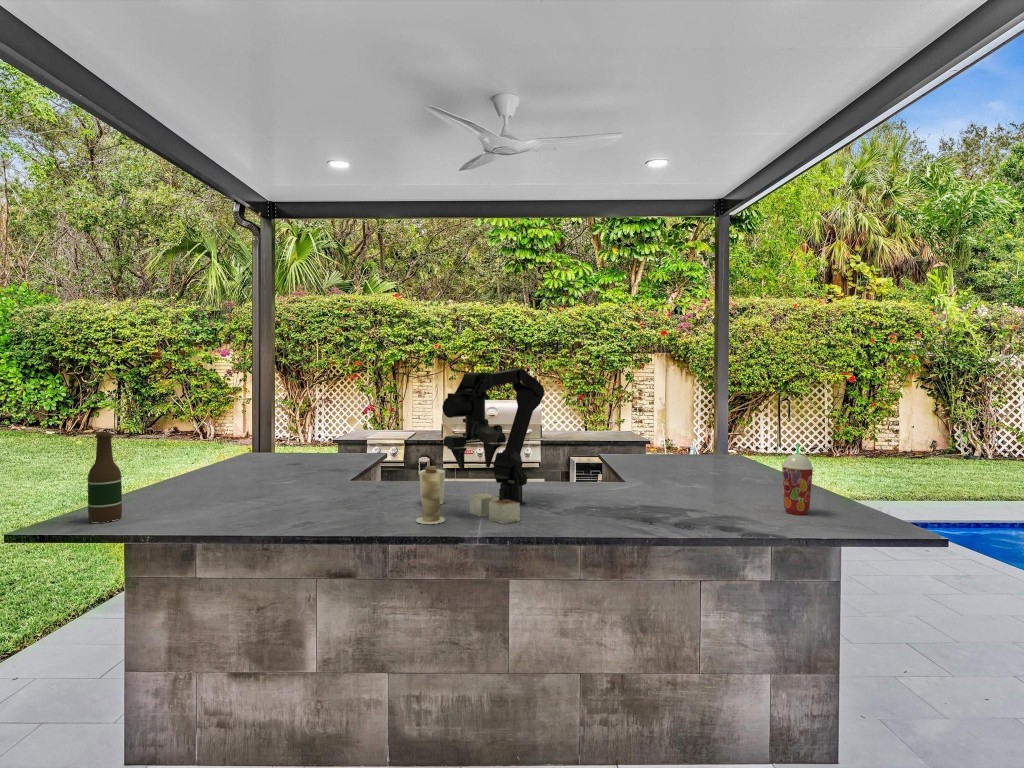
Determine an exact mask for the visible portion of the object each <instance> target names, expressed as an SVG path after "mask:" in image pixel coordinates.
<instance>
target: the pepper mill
mask: <svg viewBox="0 0 1024 768" xmlns="http://www.w3.org/2000/svg"><path fill="white" fill-rule="evenodd" d="M424 468H425V469H424V470H425V471H424V472H422V503H421V517H422V520H423V521H426V522H434V521H438V520H440V517H441V516H440V515H441V511H440V510H441V507H440V506H441V505H440V472H438V471H436V469H437V466H436V465H428V466H425V467H424Z"/></svg>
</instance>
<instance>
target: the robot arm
mask: <svg viewBox="0 0 1024 768" xmlns="http://www.w3.org/2000/svg"><path fill="white" fill-rule="evenodd" d="M510 383H511V387H512V389H513V391H515V393H516V394H515V401H516V404H517V409H516V413H515V415H514V419H513V422H512V425H511V428H510V431H509V435H508V438H507V439H506V437H507V436H506V434H504V432H503V431H504V430H503V426H502V425H500V424H494V425H493V426H491V425H490V424H489V419H487V418H486V400H491V396H490V395H489V394H488V393H487V391H490V390H491V389H492V388H493V387H495V386H500V385H506V384H510ZM544 396H545V389H544V386H543V384H542V383H541V382H539V380H538V379H537V378H535V377H533V376H532V375H530V373H528V372H527V371H526V370H525V369H524V368H520V367H519V368H515V367H514V368H513V367H512V368H510V369H506V370H499V371H494V372H483V371H482V372H481V371H480V372H475V371H474V372H472V371H471V372H470V371H468V372H466V373H464V374H463V376H462V378H461V381H460V383H459V384H458V387H457V388H456V390H455V392H454V393H452V392H451V393H450V392H448V393H447V398H445V399H444V401H443V403H442V405H441V406H442V412H443V414H444V416H445V417H446V418H448V419H449V418H450V419H451V418H452V419H453V418H461V417H462V423H465V424H464V425H465V429H464V430H465V432H462V435H445V436H444V439H443V444H442V445H443V447H447V449H449V450H450V451H451V453H452V455H453V456H454V459H455V461H456V463H457V465H458V467H459V470H460V472H464V471H465V453H466V451H467V447H465V446H466V445H467V444H474V443H475V444H476V443H482V444H483V453H484V454H483V455H484V462H485V467H486V468H487V469H489V468H490V467H491V465H492V466H493V467H492V471H493V474H494V475H493V476H494V478H495V482H496V483H497V484H499V489H498V497H499V500H504V499H508V500H512V501H515V502H518V503H520V505H523V504H526V501H524V500H523V486H525V485H527V483H528V476H527V474H525V472H524V471H523V460H522V456H521V454H522V453H521V452H522V449H523V445H524V443H525V439H526V436H527V433H528V430H529V427H530V422H531V419H532V416H533V412H534V411H535V409H537V408H538V407H539V406H540V405H541V402H542V400H543V398H544ZM463 417H465V418H463ZM504 443H505V444H506V445H505V448H504V450H503V451H502V452H496V451H497V449H499V447H501V446H503V444H504ZM494 455H495V458H494ZM493 458H494V461H493ZM492 462H493V463H492Z"/></svg>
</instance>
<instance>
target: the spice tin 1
mask: <svg viewBox="0 0 1024 768" xmlns="http://www.w3.org/2000/svg"><path fill="white" fill-rule="evenodd" d="M498 500H499V495H494V494H491V493H488V492H486V493H485V492H484V493H480V494H478V493H477V494H471V495H469V513H470V514H471V515H472V514H473V515H474V516H478V517H480V516H481V518H483V517H487V516H488V517H489V502H491V501H498ZM482 516H483V517H482Z"/></svg>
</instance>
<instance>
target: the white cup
mask: <svg viewBox="0 0 1024 768" xmlns="http://www.w3.org/2000/svg"><path fill="white" fill-rule="evenodd" d="M424 471H425V469H422V470H420V471H418V472H419V490H420V503H421V504H422V472H424ZM436 471H438V472H440V504H441V505H443V504H444V495H445V487H446V486H445V482H446V481H445V480H446V470H444V469H437V468H436Z"/></svg>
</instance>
